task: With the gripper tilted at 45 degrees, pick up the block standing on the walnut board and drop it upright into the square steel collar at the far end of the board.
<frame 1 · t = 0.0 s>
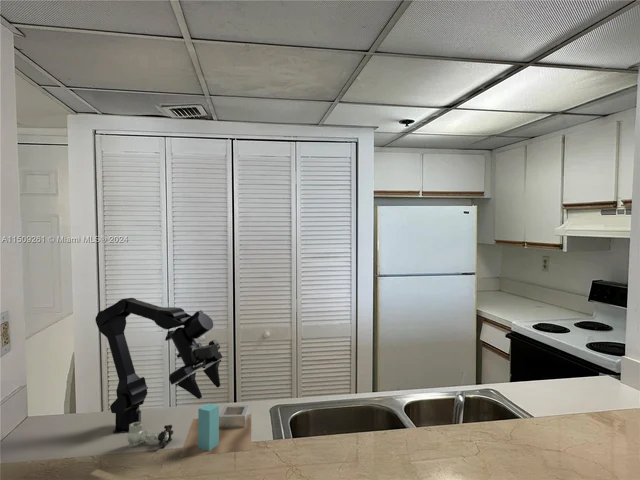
hand: (210, 392, 109), 15 cm above the countertop, tool tilted 35°, fingers open, 9 cm apart
block: (208, 445, 105), point 1 cm above the countertop, touching board
collar: (234, 421, 120), resting on board
board: (219, 437, 112), on the countertop
valve: (148, 448, 106), on the countertop
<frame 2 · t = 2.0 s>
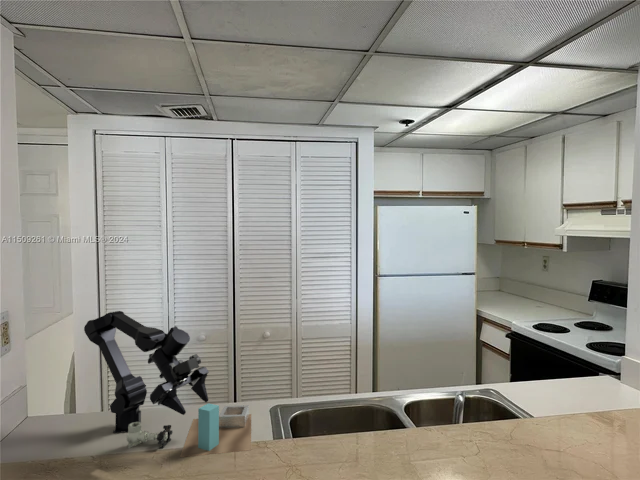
hand: (196, 407, 107), 11 cm above the countertop, tool tilted 45°, fingers open, 9 cm apart
nothing on the countertop moved.
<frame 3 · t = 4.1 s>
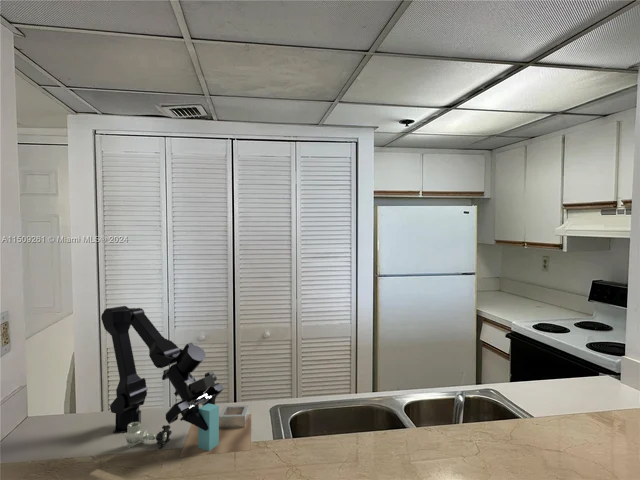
hand: (212, 426, 104), 7 cm above the countertop, tool tilted 45°, fingers closed on block, 4 cm apart
block: (208, 445, 105), point 1 cm above the countertop, touching board, gripper
everything else where it was.
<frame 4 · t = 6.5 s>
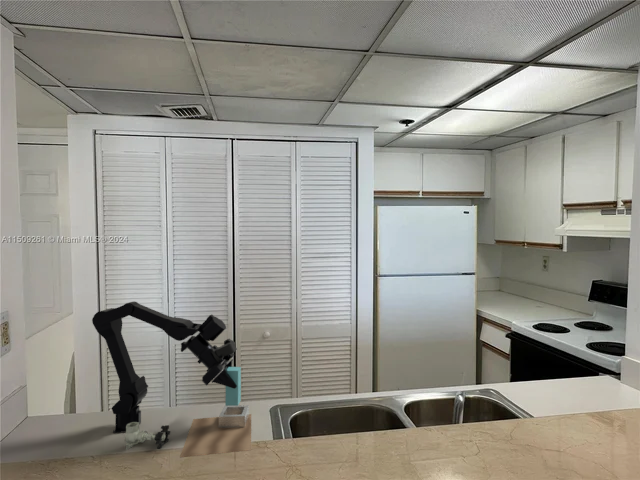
hand: (237, 385, 119), 13 cm above the countertop, tool tilted 45°, fingers closed on block, 4 cm apart
block: (233, 403, 119), point 8 cm above the countertop, touching gripper
everything else where it was.
when the fingers open (8 cm above the countertop, at t = 8.9 s): block drops 1 cm, resting on board.
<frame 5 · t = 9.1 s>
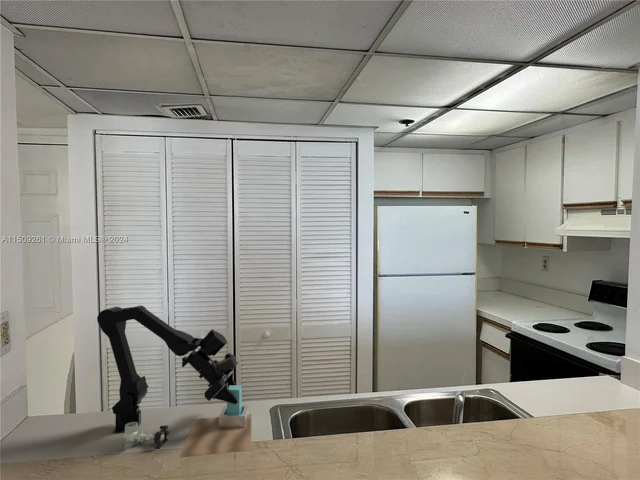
hand: (238, 399, 120), 8 cm above the countertop, tool tilted 45°, fingers open, 6 cm apart
block: (234, 421, 120), point 1 cm above the countertop, touching board
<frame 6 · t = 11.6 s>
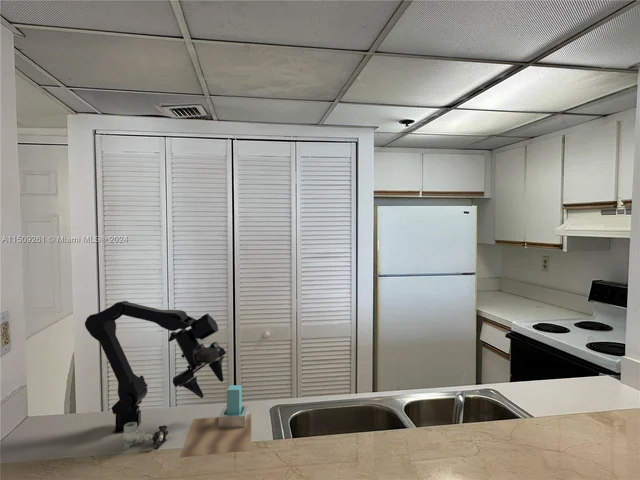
hand: (212, 389, 118), 12 cm above the countertop, tool tilted 30°, fingers open, 9 cm apart
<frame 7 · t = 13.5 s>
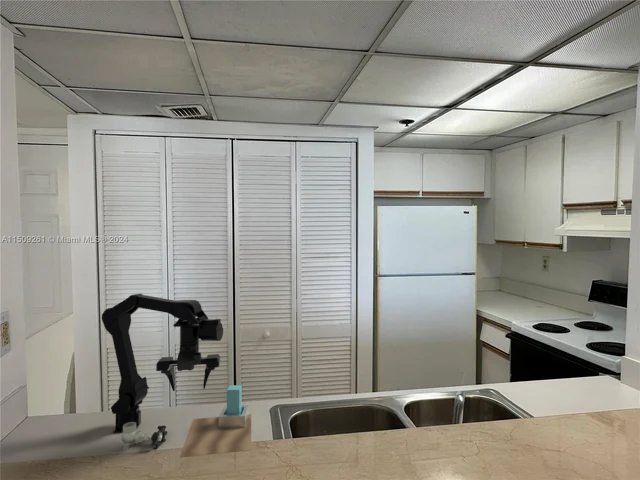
hand: (189, 389, 116), 13 cm above the countertop, tool pointing down, fingers open, 9 cm apart
at the end: block 0.0 cm off-centre on the collar, point 0.0 cm above the collar's base; block tilted 0°; the gripper is holding nothing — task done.
